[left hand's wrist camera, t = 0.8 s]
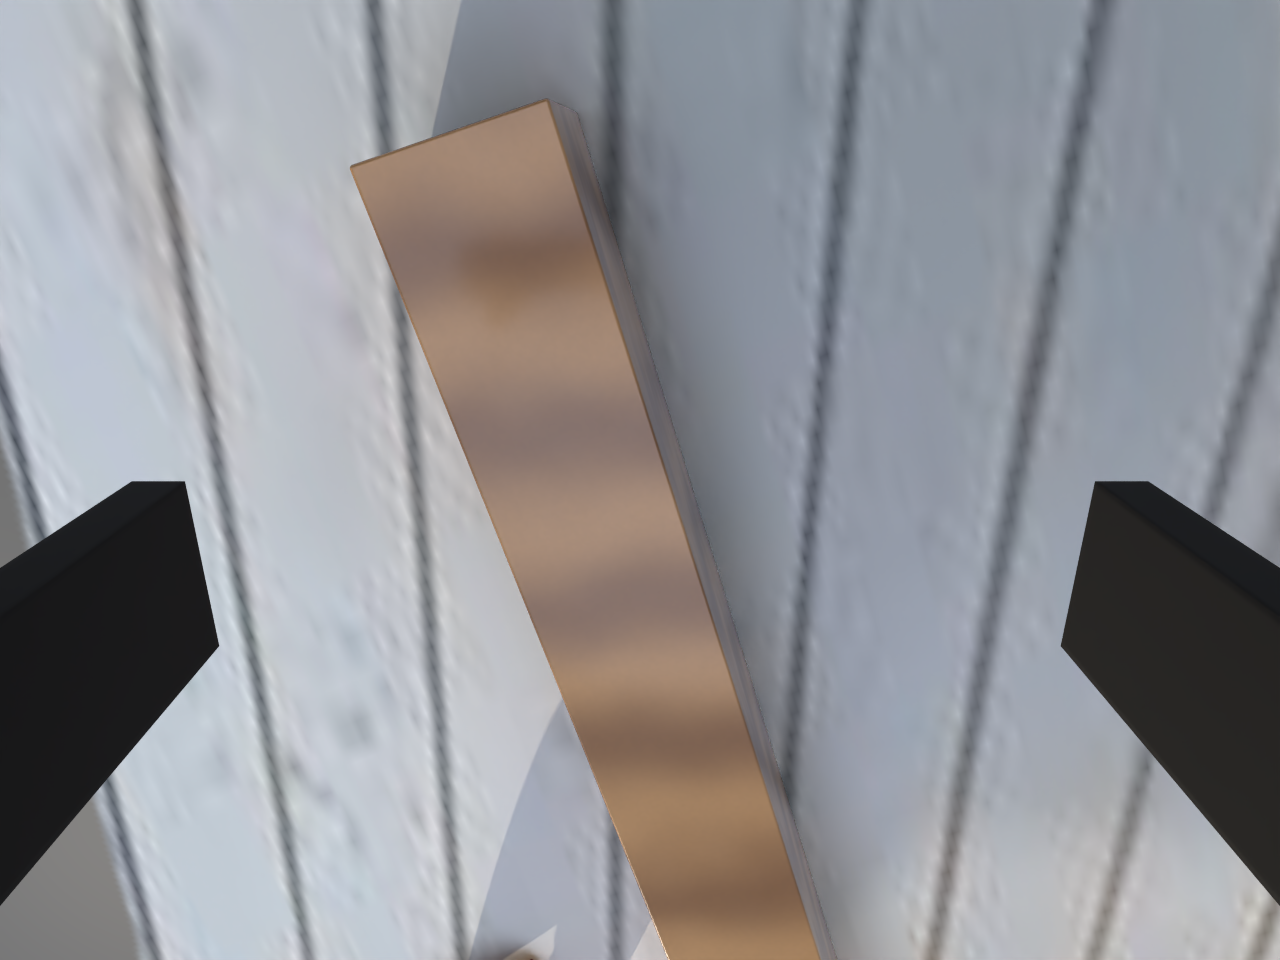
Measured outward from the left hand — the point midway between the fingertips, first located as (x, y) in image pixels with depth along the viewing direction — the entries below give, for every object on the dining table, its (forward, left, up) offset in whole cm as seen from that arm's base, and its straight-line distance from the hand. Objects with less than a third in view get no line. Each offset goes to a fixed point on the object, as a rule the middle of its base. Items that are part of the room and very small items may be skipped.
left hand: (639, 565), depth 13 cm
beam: (-13, +29, -20) cm, 37 cm away
